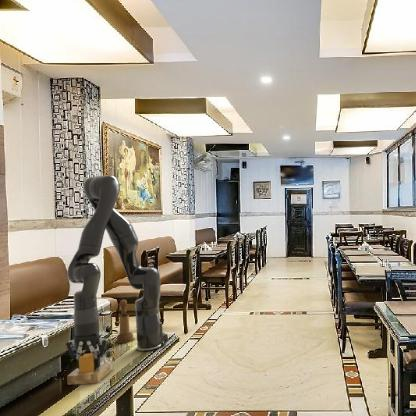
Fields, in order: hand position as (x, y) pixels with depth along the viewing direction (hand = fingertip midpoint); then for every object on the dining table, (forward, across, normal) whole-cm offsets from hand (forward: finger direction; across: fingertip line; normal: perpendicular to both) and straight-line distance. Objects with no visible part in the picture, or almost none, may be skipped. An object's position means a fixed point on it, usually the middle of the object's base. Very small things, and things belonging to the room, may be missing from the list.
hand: (89, 368), depth 149 cm
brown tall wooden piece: (+3, +3, -40) cm, 40 cm away
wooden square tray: (+3, 0, 0) cm, 3 cm away
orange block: (0, 0, 0) cm, 0 cm away
